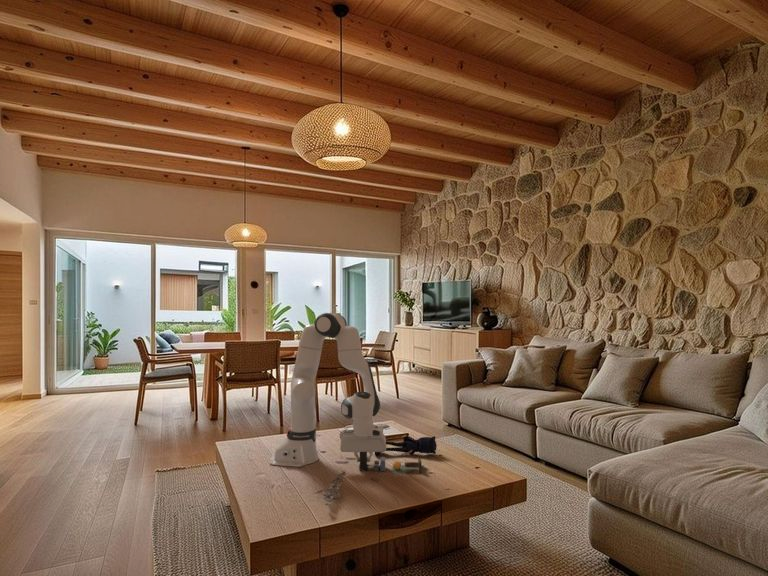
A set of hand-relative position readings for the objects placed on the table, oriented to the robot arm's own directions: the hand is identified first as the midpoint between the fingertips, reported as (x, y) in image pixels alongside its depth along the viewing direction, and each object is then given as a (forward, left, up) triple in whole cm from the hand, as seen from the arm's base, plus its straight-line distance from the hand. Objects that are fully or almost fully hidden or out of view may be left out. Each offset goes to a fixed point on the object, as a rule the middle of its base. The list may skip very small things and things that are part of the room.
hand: (363, 461), depth 200 cm
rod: (+4, 0, -4) cm, 5 cm away
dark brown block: (+6, 0, -4) cm, 7 cm away
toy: (+19, +19, -4) cm, 27 cm away
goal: (+21, 0, -4) cm, 21 cm away
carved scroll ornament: (-9, -27, -4) cm, 29 cm away
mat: (+20, 0, -4) cm, 20 cm away
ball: (+15, 0, -2) cm, 15 cm away
